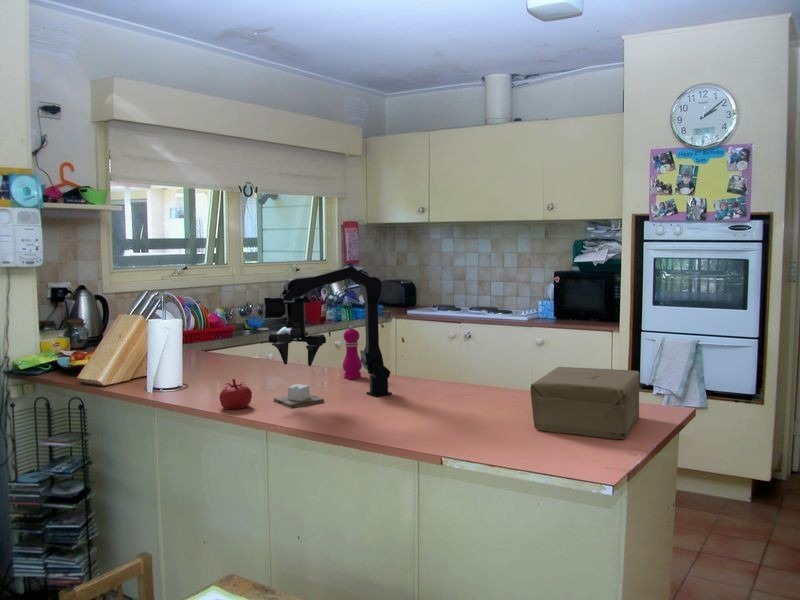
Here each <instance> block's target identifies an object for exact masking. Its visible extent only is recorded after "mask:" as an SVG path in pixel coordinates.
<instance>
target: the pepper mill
mask: <svg viewBox="0 0 800 600" xmlns="http://www.w3.org/2000/svg"><path fill="white" fill-rule="evenodd" d="M343 339H344V341H345V342H344V344H345V345H344V346H345V348H346V349H345V352H346V353H345V357H344V360H343V361H342V369H343V370H344V373H343V376H344V379H346V380H355V379H356V380H358V379H360V378H362V377H361V375H362V373H361V372H360V371H361V370H362V367H363V365H362V363H361V362H360V360H361V357H360V356H359V353H358V346H359V340H360V332H359V331H358V330H357V329H354V325H353V324H350V325H349V326H348V329H346V330H345V331H344V332H343Z"/></svg>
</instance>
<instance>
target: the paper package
mask: <svg viewBox="0 0 800 600" xmlns="http://www.w3.org/2000/svg"><path fill="white" fill-rule="evenodd" d="M640 379H641V374H640V372H639V370H630V369H616V368H615V369H614V368H597V367H596V368H595V367H594V368H592V367H590V368H589V367H574V366H573V367H572V366H571V367H570V366H557V367H555V368H554V369H552V370H551V371H549V372H548V373H547V374H544V375H543V376H542V377H541V378H539V379H538V380H536V381H534V382H533V383H531V385H530V401H531V402H530V403H531V409H532V411H531V412H532V420H533V427H534V429H535V430H537V431H543V432H550V433H556V434H557V433H558V434H567V435H577V436H586V437H595V438H596V437H597V438H603V439H611V440H625V439H626V438H627V436H628V435H629V433H630V432H631V430H632V428H633V427H634V425H635V424H636V422H637V420H639V418H640Z"/></svg>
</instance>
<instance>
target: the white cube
mask: <svg viewBox="0 0 800 600" xmlns="http://www.w3.org/2000/svg"><path fill="white" fill-rule="evenodd" d="M310 394H311V393H310V385H308V384H300V383H299V384H298V383H295V384H293V385H290V386H288V387H287V396H288V399H289V400H298V401H302V400H305V399H307V398H310Z"/></svg>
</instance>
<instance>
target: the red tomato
mask: <svg viewBox="0 0 800 600" xmlns="http://www.w3.org/2000/svg"><path fill="white" fill-rule="evenodd" d="M231 381H232V383H230V382H227V383H226V386H225V387H224V388H223V389H222V390H221V392H220V393H219V397H218V399H219V401H220V405H221V407H222V408H223V409H225V410H241V408H242V409H244V408H247V407H248V406H249V405H250V403H251V401H252V397H253V392H252V390H251V388H250V387H248V386H247V385H246V384H244V383H245V382H239V383H236V378H232V379H231Z"/></svg>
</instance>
